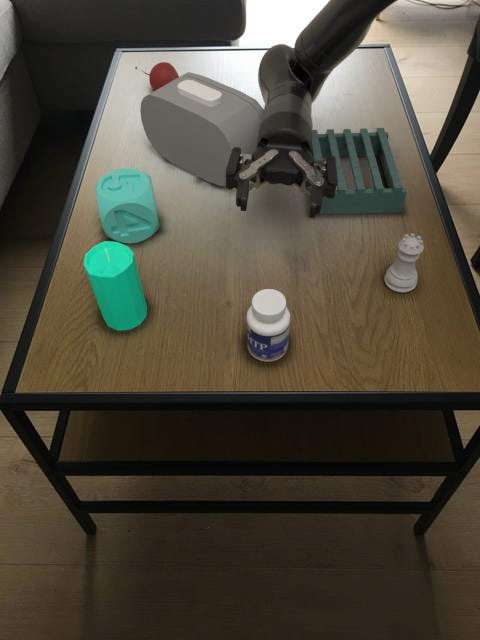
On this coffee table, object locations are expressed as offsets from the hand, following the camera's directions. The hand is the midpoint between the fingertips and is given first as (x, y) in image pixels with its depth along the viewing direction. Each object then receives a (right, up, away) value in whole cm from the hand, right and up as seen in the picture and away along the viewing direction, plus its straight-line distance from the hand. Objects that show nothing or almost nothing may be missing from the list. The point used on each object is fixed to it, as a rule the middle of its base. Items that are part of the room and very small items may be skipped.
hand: (278, 209), depth 66 cm
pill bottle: (-1, -17, +3) cm, 17 cm away
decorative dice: (-21, +1, +18) cm, 28 cm away
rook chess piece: (+18, -8, +9) cm, 22 cm away
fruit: (-21, +33, +43) cm, 58 cm away
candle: (-20, -13, +7) cm, 25 cm away
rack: (+14, +9, +23) cm, 28 cm away
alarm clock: (-10, +14, +28) cm, 33 cm away
